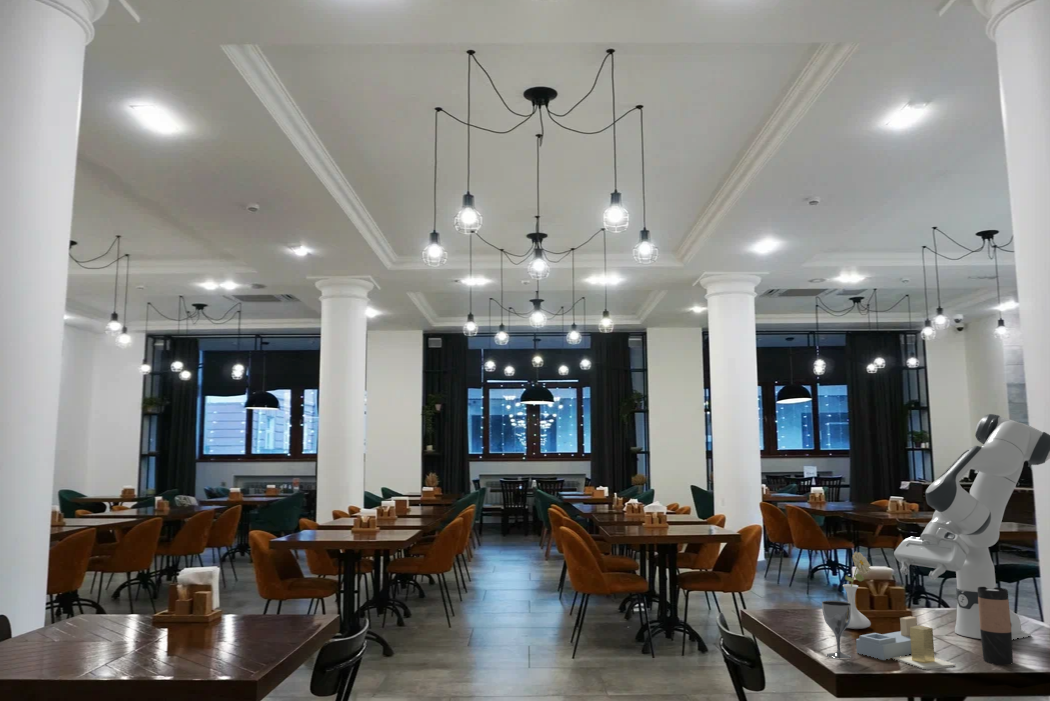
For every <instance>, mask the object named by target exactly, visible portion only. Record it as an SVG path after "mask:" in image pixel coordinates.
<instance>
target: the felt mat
mask: <svg viewBox="0 0 1050 701" xmlns="http://www.w3.org/2000/svg"><path fill="white" fill-rule="evenodd" d="M892 659H893V660H894V659H895V660H894V661H896V660H898V661H897V662H899V661H900V662H899V663H902V662H904V663H903V664H905V663H907V664H906V665H908V664H910V665H909V666H911V665H913V666H912V667H914V666H917V667H919V668H922V669H926V670H934V669H944V668H945V669H946V668H954V667H953V666H956V663H952V662H950V661H946V660H943V659H940V658H937V657H935V661H934V662H930V663H926V664H925V663H921V662H917V661H913V660H912V655H907V656H902V657H893V658H892ZM917 667H916V668H917ZM919 668H918V669H919ZM922 669H921V670H922Z"/></svg>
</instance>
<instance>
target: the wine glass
mask: <svg viewBox="0 0 1050 701" xmlns="http://www.w3.org/2000/svg"><path fill="white" fill-rule="evenodd" d="M821 608H822V609H821V610H822V616H823V618H824V621H825V622H824V623H826V626H828V628H829V629H830V630H831V631H832V632H833V634H834V637H835V640H836V650H837V651H836V652H829V653H826V654H827V656H829V657H833V658H850V657H851V656H852V655H849V654H847V653H843V652H841V651H842V650H841V636H842V634H843V633H844V632H845V630H846V629H848V628H847V626H848V625H849V623H850V619H851V603H848V601H845V600H844V601H843V600H823V601H821ZM827 656H826V657H827ZM829 657H828V658H829ZM833 658H832V659H833Z"/></svg>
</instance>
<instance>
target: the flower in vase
mask: <svg viewBox="0 0 1050 701" xmlns="http://www.w3.org/2000/svg"><path fill="white" fill-rule="evenodd" d="M851 558H852V562H853V563H854V566H855V570H854V574H853V577H850V576H848V575H847V574H846V575H845V576H844V578H845V580H846V581H849V582H851V583H850V584H849V583H848V584H847V583H846V584H843V585H842V587H843V588H844V589H845V592H846V597H847V602H848V603H851V619H850V623H849V625H848V626H847V628H846V629H854V630H859V629H867V628H869V627H871V625H872V622H871V620H869V618H868V617H866V615H864V614H863V613H861V612H860V610H858V608H857V606H856V593H857V589H858V588H859V585H857V584H854V580H855V579H856V581H858V582H862V581H864V580H865V577H864V576H863V575H862V574H865V575H868V574H869V572H871V568H870V567H871V564H870V563H869V561H868V560H867V557H866V556H864V554H862V553H861V552H859V551H855V552H853V554H852V557H851ZM857 571H859V573H857ZM860 572H861V573H862V574H860Z"/></svg>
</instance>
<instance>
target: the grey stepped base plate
mask: <svg viewBox="0 0 1050 701" xmlns="http://www.w3.org/2000/svg"><path fill="white" fill-rule="evenodd" d="M899 622H900V631H894V632H887V633H882V634H881V633H878V632H872V633H866V634H862V635H859V636H858V637H859V638H856V639H855V643H856V645H855V646H856V654H858V653H859V655H862V654H863V655H862V656H865V655H867V657H869V656H871V657H870V658H873V657H874V658H873V659H877V658H878V659H879V660H881V661H886V659H888V660H891V659H890V658H892V659H893V657H900V656H905V655H907V656H910V655H909V654H911V639H910V627H914V626H918V621H917V617H916V616H911V615H909V616H904V617H899ZM878 659H877V660H878Z"/></svg>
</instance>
